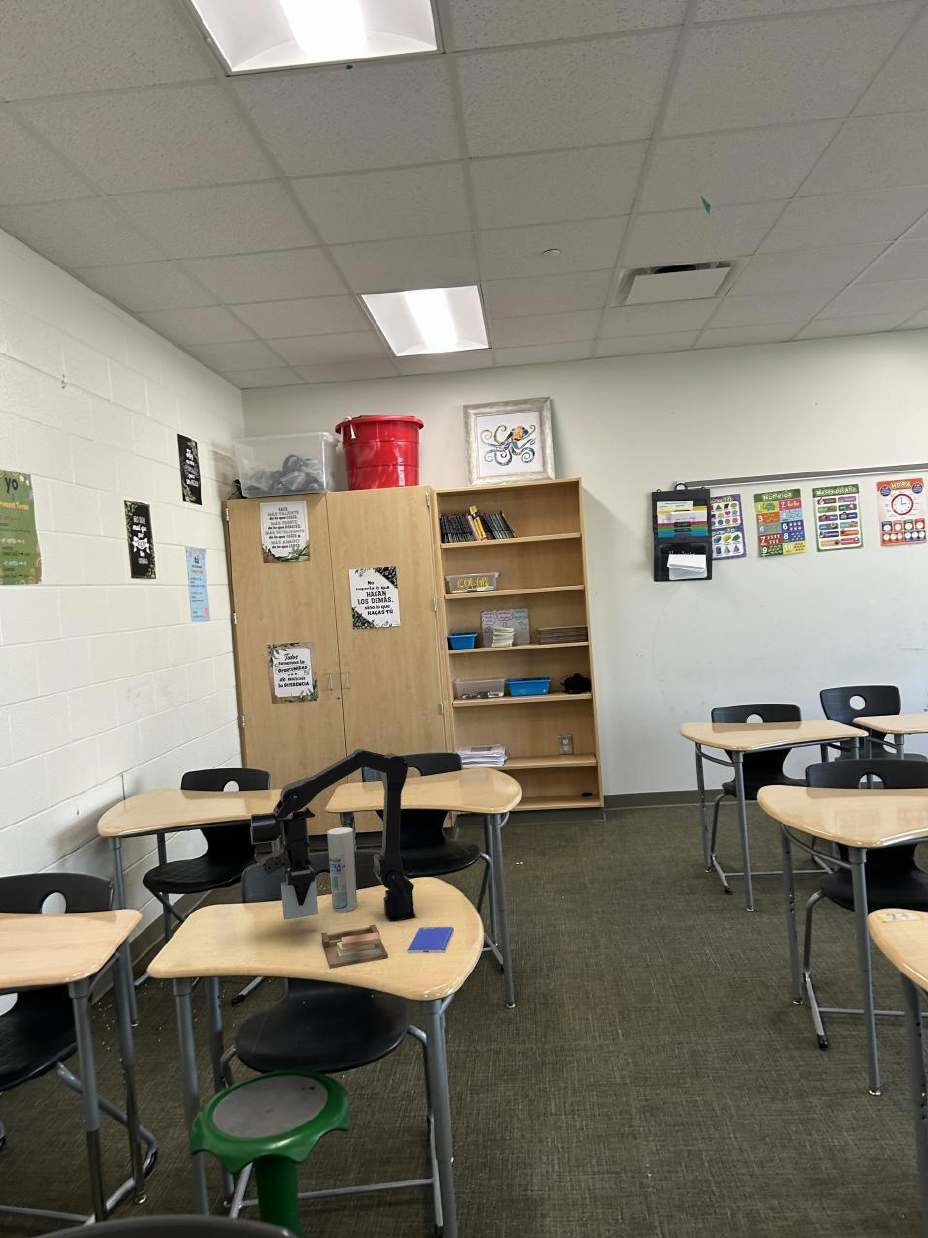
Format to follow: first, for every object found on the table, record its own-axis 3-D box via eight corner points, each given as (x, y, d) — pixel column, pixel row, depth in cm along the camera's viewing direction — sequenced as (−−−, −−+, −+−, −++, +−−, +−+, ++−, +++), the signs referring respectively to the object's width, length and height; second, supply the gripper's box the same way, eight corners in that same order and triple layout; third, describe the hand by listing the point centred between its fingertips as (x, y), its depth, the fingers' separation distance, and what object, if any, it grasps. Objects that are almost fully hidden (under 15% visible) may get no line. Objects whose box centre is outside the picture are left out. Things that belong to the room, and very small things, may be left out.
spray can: (326, 910, 207) (321, 832, 208) (346, 902, 212) (341, 826, 213) (344, 914, 203) (338, 834, 203) (363, 906, 208) (358, 828, 208)
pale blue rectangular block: (317, 911, 194) (314, 877, 194) (318, 914, 192) (315, 880, 192) (283, 916, 192) (280, 883, 192) (283, 920, 190) (281, 885, 190)
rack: (375, 933, 189) (374, 924, 189) (387, 958, 174) (387, 947, 174) (322, 943, 185) (321, 933, 185) (329, 968, 171) (329, 958, 171)
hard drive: (418, 927, 188) (407, 948, 176) (453, 926, 187) (444, 948, 175) (419, 934, 188) (407, 956, 176) (454, 933, 187) (444, 955, 175)
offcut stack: (378, 945, 179) (377, 930, 179) (382, 954, 174) (381, 938, 174) (336, 953, 177) (335, 937, 177) (339, 961, 172) (338, 945, 172)
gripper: (259, 834, 199) (264, 897, 199) (262, 852, 181) (267, 922, 181) (305, 827, 202) (309, 890, 202) (313, 845, 184) (317, 914, 184)
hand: (300, 903), depth 192 cm, fingers closed on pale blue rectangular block, 2 cm apart
